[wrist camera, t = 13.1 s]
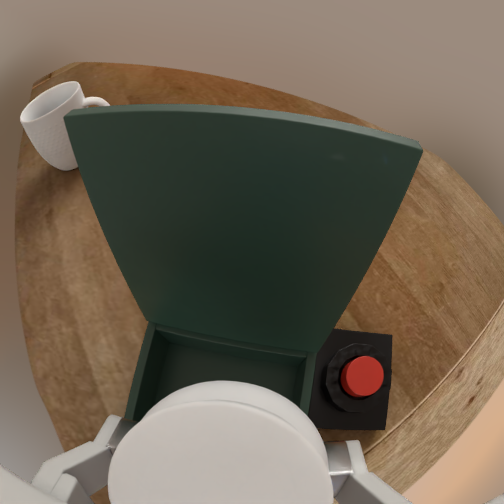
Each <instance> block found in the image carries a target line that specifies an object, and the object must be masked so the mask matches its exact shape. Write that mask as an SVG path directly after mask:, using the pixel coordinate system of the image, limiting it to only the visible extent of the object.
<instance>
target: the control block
mask: <svg viewBox="0 0 504 504" xmlns="http://www.w3.org/2000/svg"><path fill="white" fill-rule="evenodd" d="M362 356H369V357H372V358H374V359H376V360H377V361H378V362H379V363H380V364H381V366H382V369H383V373H384V377H383V382H382V384H381V386H380V388H379V389H378V390H377V391H376V392H375V393H373V394H371V395H368V396H362V397H354V396H351V395H349V394H348V393H347V392H346V391H345V390H344V389H343V387H342V384H341V373H342V370H343V369H344V367H345V366H346V365H347V364H348V363H349V362H351V361H353V360H354V359H356V358H358V357H362ZM391 359H392V335H388V334H378V333H368V332H359V331H350V330H342V329H333V330H332V331H331V333H330V335H329V336H328V338H327V339H326V341H325V342H324V344H323V345H322V347H321V349H320V350H319V352H317V355H316V363H315V371H314V378H313V386H312V393H311V399H310V406H309V412H308V418H309V419H310V420H311V421H312V422H313V424H314V425H315V427H316V428H322V429H341V430H385V426H386V418H387V409H388V400H389V390H390V388H391V375H392V370H391Z"/></svg>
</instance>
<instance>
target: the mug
mask: <svg viewBox="0 0 504 504" xmlns="http://www.w3.org/2000/svg"><path fill="white" fill-rule="evenodd" d="M89 105H98V106H100V107H102V106H110V105H109V104H108V103H107V102H106V101H105V100H104V99H102V98H99V97H88V98H85V97H84V95H83V92H82V89H81V87H80V84H79V83H78V82H75V81H70V82H66V83H62V84H59V85H57V86H54V87H52V88H50V89H48V90H47V91H45V92H43V93H42V94H40V95H39V96H37V97H36V98H35V99H34V100H32V101H31V102H30V103H29V104H28V105H27V107H25V109H24V110H23V112H22V114H21V116H20V121H21V123H22V125H23V127H24V129H25V131H26V133H27V135H28V137H29V139H30V141H31V142H32V144H33V145H34V147H35V148H36V150H37V151H38V153H39V154H40V155H41V156H42V157H43V158H44V159H45V160H46V161H47V162H48V163H49V164H51V165H52V166H53V167H56V168H58V169H60V170H64V171H69V170H72V169H75V168H77V167H78V165H77V162H76V159H75V156H74V153H73V150H72V146H71V143H70V140H69V137H68V133H67V130H66V126H65V123H64V119H63V117H64V116H65V115H66V114H67V113H69V112H70V111H71V110H73V109H81V108H88V106H89Z"/></svg>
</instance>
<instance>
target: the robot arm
mask: <svg viewBox="0 0 504 504" xmlns="http://www.w3.org/2000/svg"><path fill="white" fill-rule="evenodd" d="M137 423H139V422H137V421H133V420H129V419H126V418H123V417H119V416H116V415H112V414H111V415H110V416H108V418H107V419H106V421H105V423H104V424H103V426H102V428H101V429H100V431H99V433H98V434H97V436H96V438H95V439H94V441H93V442H91V441H89V442H87V443H85V444H83V445H80V446H78V447H76V448H74V449H72V450H69V451H67V452H65V453H63V454H60V455H58V456H56V457H53V458H51V459H49V460H46V461H44V463H43V464H42V465H41V467H40V469H39V470H38V472H37V473H36V475H35V476H34V478H33V479H32V481H31V483H29V482H27V481H25V480H24V479H22V478H21V477H19V476H18V475H16V474H14V473H13V472H11V471H10V470H8V469H7V468H5V467H4V466H3V465H1V464H0V504H94V502H93V501H92V500H91V498H90V497H89V496H91V495H92V494H94V493H95V492H97V491H98V490H100V489H101V488H103V487H104V486H106V485H107V484H108V473H109V467H110V463H111V459H112V457H113V454H114V452H115V450H116V448H117V446H118V444H119V443H120V442H121V440H122V439H123V437H124V436H125V435H126V434H127V433H128V432H129V431H130V430H131V429H132V428H133V427H134V426H135V425H136V424H137ZM323 443H324V446H325V449H326V452H327V457H328V471H329V474H330V477H331V480H332V486H333V497H334V498H335V499H336V500H337V501H338V502H339V504H412V502H410V501H409V500H407V499H406V498H405V497H403V496H402V495H401V494H399V493H398V492H397V491H396V490H394V489H393V488H392V487H390V486H389V485H388V484H386V483H385V482H384V481H383V480H381V479H380V478H379V477H378V476H376V475H375V474H374V473H373V472H368V469H367V466H366V462H365V459H364V455H363V452H362V448H361V445H360V442H359V441H358V440H350V441H329V442H323ZM484 504H504V493H503V494H501V495H499V496H498V497H496V498H494V499H492V500H490V501H488V502H486V503H484Z"/></svg>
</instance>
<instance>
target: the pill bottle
mask: <svg viewBox="0 0 504 504" xmlns="http://www.w3.org/2000/svg"><path fill="white" fill-rule="evenodd" d="M108 493H109V499H110V502H111V504H333V499H334V497H333V486H332V480H331V477H330V474H329V471H328V457H327V452H326V449H325V446H324V443H323V440H322V438H321V436H320V434H319V432H318V430H317V428H316V427H315V425H314V424H313V422H312V421H311V420H310V419H309V418H308V416H307V415H306V414H305V413H304V412H303V411H302V410H301V409H300V408H299V407H298V406H296V405H295V404H294V403H292V402H291V401H290V400H288V399H287V398H285V397H283V396H282V395H280V394H278V393H276V392H274V391H272V390H269V389H267V388H264V387H261V386H257V385H253V384H249V383H244V382H237V381H209V382H202V383H198V384H194V385H191V386H188V387H184V388H182V389H179V390H177V391H175V392H173V393H171V394H170V395H168V396H167V397H165V398H164V399H162V400H161V401H159V402H158V403H157V404H156V405H154V406H153V407H152V408H151V409H150V410H149V411H148V412H147V413H146V415H145V416H144V417H143V418H142V420H141V421H140V422H139V423H137V424H136V425H135V426H134V427H133V428H132V429H131V430H130V431H129V432H128V433H127V434H126V435H125V436H124V437H123V439H122V440H121V442H120V443H119V444H118V446H117V448H116V450H115V452H114V454H113V457H112V459H111V463H110V467H109V473H108Z"/></svg>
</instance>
